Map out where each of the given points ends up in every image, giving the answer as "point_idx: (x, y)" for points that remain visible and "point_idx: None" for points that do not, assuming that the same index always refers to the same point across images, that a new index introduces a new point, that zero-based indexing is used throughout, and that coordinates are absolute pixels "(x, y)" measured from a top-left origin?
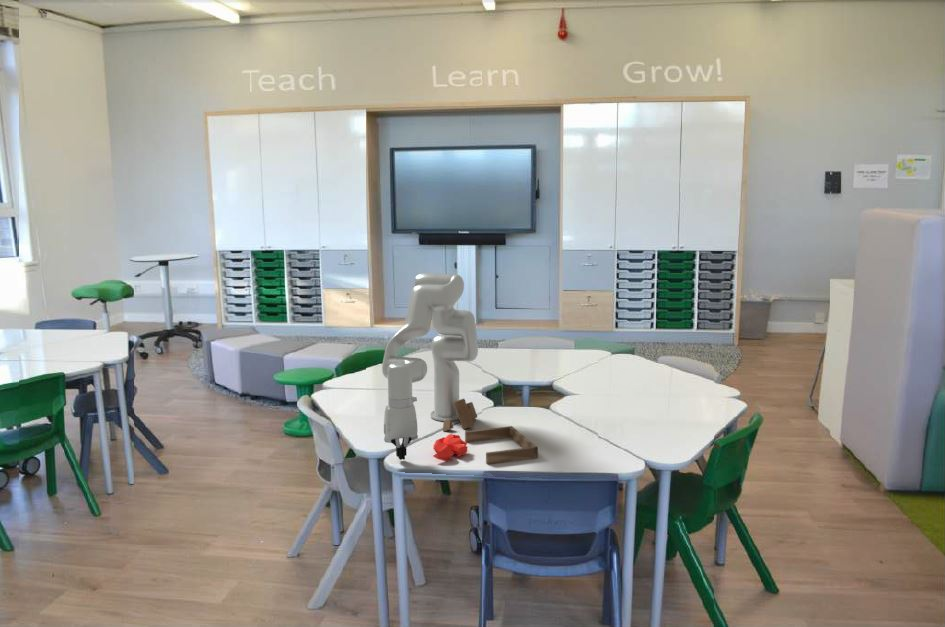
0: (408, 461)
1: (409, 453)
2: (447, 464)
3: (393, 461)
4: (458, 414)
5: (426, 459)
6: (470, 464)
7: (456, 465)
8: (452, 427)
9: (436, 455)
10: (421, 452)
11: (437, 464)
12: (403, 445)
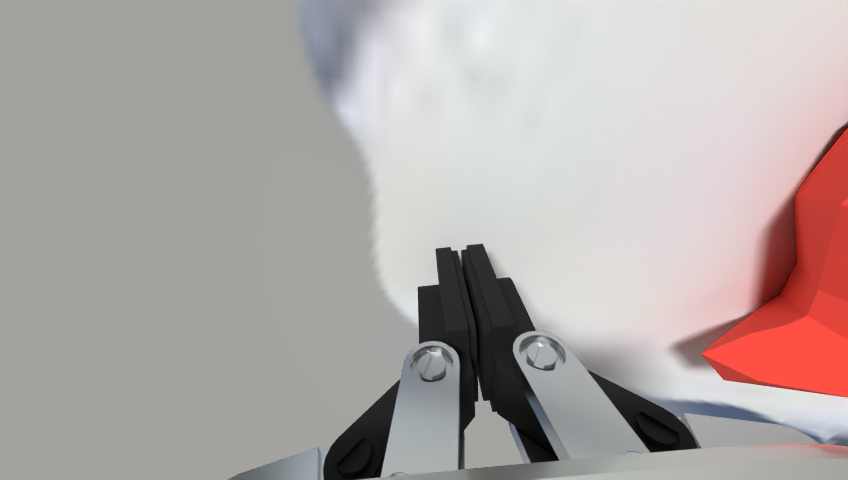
0: (509, 270)
1: (582, 77)
2: None
3: (393, 249)
4: None
5: (654, 259)
6: None
7: None
8: None
9: (728, 373)
10: (712, 77)
11: (671, 345)
12: (507, 409)
